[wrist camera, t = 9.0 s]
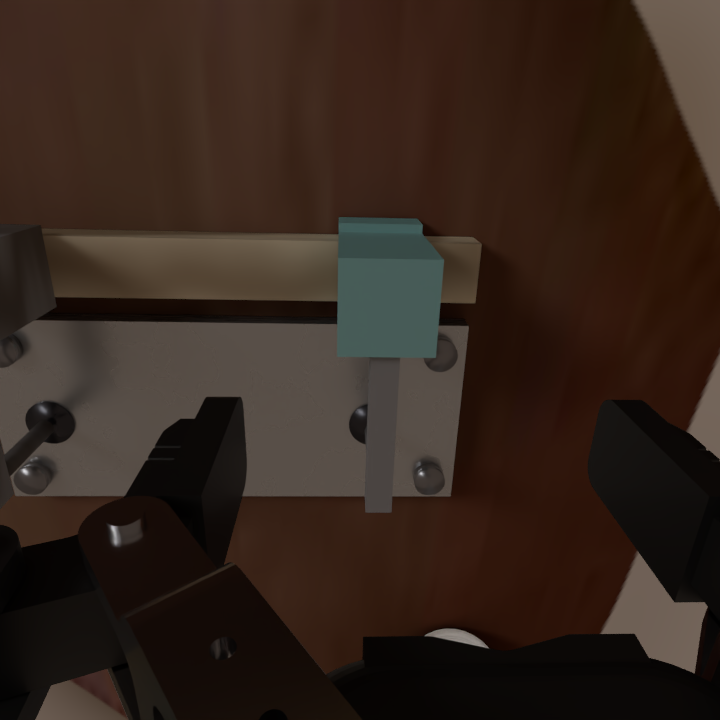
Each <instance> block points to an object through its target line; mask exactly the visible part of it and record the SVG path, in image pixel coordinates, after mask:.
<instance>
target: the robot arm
mask: <svg viewBox="0 0 720 720" xmlns="http://www.w3.org/2000/svg"><path fill="white" fill-rule="evenodd" d="M719 460H720V459H719V458H717V457H716V456H715V455H714V454H713V453H712V452H710V451H706V448H705V446H703V445H702V444H701V443H700V442H699V441H698V440H696V439H695V438H694V437H693V436H692V435H691V434H689V433H687V432H685V431H684V430H682V429H680V428H678V427H676V426H674V425H672V424H670V423H668V422H667V421H666V420H665V419H664V418H662V417H661V416H660V415H659V414H658V413H657V412H656V411H654V410H653V409H652V408H651V407H650V406H649V405H648V404H647V403H645V402H644V401H642V400H606V401H604V402H603V403H602V405H601V407H600V410H599V414H598V418H597V423H596V427H595V432H594V436H593V441H592V446H591V450H590V455H589V459H588V474H589V479H590V482H591V485H592V487H593V488H594V490H595V491H596V493H597V494H598V496H599V497H600V498H601V500H602V501H603V503H604V504H605V505H606V507H607V508H608V510H609V511H610V512H611V514H612V515H613V517H614V518H615V519H616V521H617V522H618V524H619V525H620V526H621V528H622V529H623V531H624V532H625V533H626V535H627V536H628V538H629V539H630V540H631V542H632V543H633V545H634V546H635V548H636V549H637V550H638V552H639V553H640V555H641V556H642V557H643V559H644V560H645V562H646V563H647V564H648V566H649V567H650V569H651V570H652V571H653V573H654V574H655V575H656V577H657V578H658V580H659V581H660V583H661V584H662V585H663V587H664V588H665V590H666V591H667V592H668V594H669V595H670V596H671V598H672V599H673V601H674V602H705V603H706V604H707V606H708V608H707V611H706V613H705V616H704V619H703V622H702V628H701V635H700V641H699V648H698V655H697V662H696V669H695V674H694V673H692V672H690V671H687V670H685V669H682V668H680V667H677V666H675V665H672V664H669V663H665V662H662V661H659V660H656V659H651V658H649V657H648V656H647V654H646V652H645V651H644V649H643V647H642V646H641V644H640V642H639V640H638V639H637V637H636V636H635V634H572V635H565V636H562V637H558V638H554V639H551V640H547V641H543V642H540V643H536V644H532V645H529V646H525V647H522V648H518V649H514V650H510V651H500V650H494V649H490V648H485V647H480V646H475V645H471V644H466V643H461V642H456V641H452V640H447V639H442V638H437V637H433V636H399V637H363V657H362V660H361V661H358V662H354V663H350V664H348V665H345V666H343V667H340V668H338V669H336V670H334V671H332V672H330V673H328V674H325V673H324V672H323V670H322V669H321V668H320V667H319V666H318V664H317V663H316V662H315V661H314V659H313V658H312V657H311V656H310V654H309V653H308V652H307V651H306V649H305V648H304V647H303V646H302V645H301V643H300V642H299V641H298V640H297V638H296V637H295V636H294V635H293V633H292V632H291V631H290V630H289V628H288V627H287V626H286V625H285V624H284V622H283V621H282V620H281V619H280V617H279V616H278V615H277V614H276V612H275V611H274V610H273V609H272V607H271V606H270V605H269V604H268V602H267V601H266V600H265V599H264V598H263V596H262V595H261V594H260V593H259V591H258V590H257V589H256V588H255V586H254V585H253V584H252V583H251V581H250V580H249V579H248V578H247V577H246V575H245V574H244V573H243V572H242V570H241V569H240V568H239V567H238V566H237V565H235V564H234V563H231V562H229V563H227V564H225V565H224V562H225V558H226V555H227V551H228V547H229V544H230V540H231V536H232V533H233V529H234V525H235V521H236V518H237V514H238V510H239V507H240V503H241V499H242V495H243V492H244V488H245V483H246V474H247V453H246V438H245V423H244V408H243V401H242V398H241V397H206V398H205V399H204V401H203V403H202V405H201V407H200V409H199V411H198V413H197V415H196V417H195V419H179V420H178V421H177V422H175V423H174V424H172V425H171V426H170V427H168V428H167V429H165V430H164V431H163V432H162V434H161V436H160V437H159V439H158V441H157V443H156V444H155V448H153V449H152V451H151V453H150V454H149V456H148V460H146V461H145V463H144V464H143V466H142V468H141V469H140V471H139V473H138V475H137V476H136V478H135V480H134V481H133V483H132V485H131V486H130V488H129V490H128V491H127V493H126V495H125V496H124V498H121V499H118V500H115V501H112V502H110V503H107V504H105V505H103V506H101V507H99V508H98V509H96V510H95V511H93V512H92V513H91V514H90V515H89V516H87V518H86V519H85V520H84V521H83V522H82V524H81V526H80V528H79V531H78V534H77V535H74V536H71V537H68V538H64V539H59V540H55V541H50V542H45V543H41V544H36V545H31V546H27V547H22V548H21V545H20V542H19V538H18V535H17V533H16V532H15V531H14V530H13V529H11V528H10V527H7V526H4V525H0V720H35V719H36V717H37V715H38V713H39V710H40V708H41V706H42V704H43V701H44V699H45V697H46V695H47V693H48V691H49V689H50V686H51V685H53V684H57V683H61V682H64V681H67V680H71V679H74V678H77V677H81V676H84V675H87V674H91V673H94V672H98V671H101V670H104V669H108V672H109V674H110V677H111V679H112V681H113V684H114V686H115V689H116V691H117V693H118V696H119V698H120V701H121V703H122V705H123V708H124V710H125V713H126V715H127V717H128V720H720V461H719Z"/></svg>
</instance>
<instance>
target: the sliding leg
mask: <svg viewBox="0 0 720 720" xmlns="http://www.w3.org/2000/svg"><path fill="white" fill-rule="evenodd" d="M422 228H423V225H422V223H421V222H420V221H419V220H418V219H403V218H355V217H339V240H338V313H337V357H369V383H368V413H367V427H366V428H365V443H366V472H365V510H366V512H391V509H392V491H393V474H394V457H395V439H396V422H397V404H398V387H399V370H400V358H436V350H437V338H438V326H439V314H440V302H441V291H442V279H443V267H444V259H443V258H442V257H441V256H440V254H439V253H438V252H437V251H436V249H435V248H434V247H433V246H432V245H431V243H430V242H429V241H428V240H427V239H426V237H425V236H424V235H423V234H422Z"/></svg>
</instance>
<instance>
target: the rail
mask: <svg viewBox="0 0 720 720" xmlns="http://www.w3.org/2000/svg"><path fill="white" fill-rule="evenodd" d="M425 237H426V239H427V240H428V241H429V242H430V243H431V245H432V246H433V247H434V248H435V249H436V251H437V252H438V253H439V254H440V256H441V257H442V258H443V259H444V267H443V279H442V291H441V302H440V303H475V302H476V293H477V284H478V275H479V265H480V256H481V247H482V244H481V243H480V242H478V241H477V240H476V239H475V238H473V237H444V236H425ZM338 240H339V234H292V233H241V232H190V231H139V230H89V229H41V225H16V224H0V341H1V340H2V339H4V338H6V337H7V336H9V335H11V334H12V333H14V332H16V331H17V330H19V329H21V328H22V327H24V326H26V325H27V324H29V323H31V322H32V321H34V320H36V319H37V318H39V317H41V316H42V315H44V314H46V313H47V312H49V311H51V310H52V309H54V308H56V307H57V305H56V300H55V297H84V298H152V299H219V300H286V301H338ZM53 431H54V426H53V425H52V423H50V422H49V421H46V420H42V421H40V422H38V423H37V424H36V425H35V426H34V427H33V428H32V429H31V430H30V431H29V432H28V433H27V434H26V435H25V436H24V437H23V438H21V439H20V440H19V441H18V442H17V443H16V444H15V445H14V446H13V447H12V448H11V449H10V450H9V451H8V452H7V453H6V454H5V455H4V454H3V450H2V447H1V443H0V509H1V508H2V506H3V505H4V504H5V503H6V502H7V501H8V500H9V499H10V498H11V497H12V495H13V494H14V492H13V488H12V484H11V480H10V476H11V475H12V474H13V473H14V472H15V471H16V470H17V469H18V468H19V467H20V466H21V465H22V464H23V463H24V462H25V460H26V459H27V458H28V457H29V456H30V455H31V454H32V453H33V452H34V451H35V450H36V449H37V448H38V447H39V446H40V445H41V444H42V443H43V442H44V441H45V440H46V439H47V438H48V437H49V436H50V435H51V434H52V433H53Z"/></svg>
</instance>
